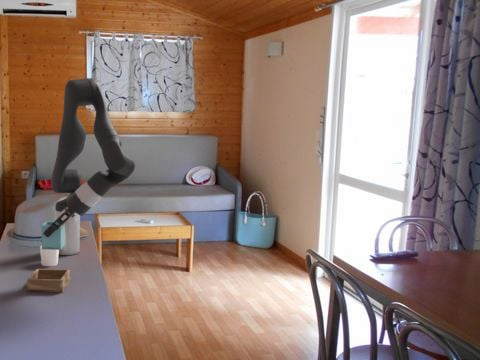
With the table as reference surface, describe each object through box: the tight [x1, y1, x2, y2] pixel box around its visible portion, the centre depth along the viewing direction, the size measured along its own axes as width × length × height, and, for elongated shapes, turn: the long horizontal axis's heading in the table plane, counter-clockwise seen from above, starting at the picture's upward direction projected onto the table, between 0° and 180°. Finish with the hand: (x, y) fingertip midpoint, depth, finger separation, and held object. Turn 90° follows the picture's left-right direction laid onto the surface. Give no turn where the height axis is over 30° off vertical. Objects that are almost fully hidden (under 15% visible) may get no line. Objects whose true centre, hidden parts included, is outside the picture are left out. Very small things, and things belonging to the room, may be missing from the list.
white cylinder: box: [39, 244, 59, 267], centre depth 213 cm, size 7×7×7 cm
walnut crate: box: [26, 268, 71, 294], centre depth 190 cm, size 12×11×4 cm
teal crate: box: [41, 221, 65, 250], centre depth 190 cm, size 6×6×8 cm
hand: (48, 232), depth 190 cm, fingers closed on teal crate, 6 cm apart
